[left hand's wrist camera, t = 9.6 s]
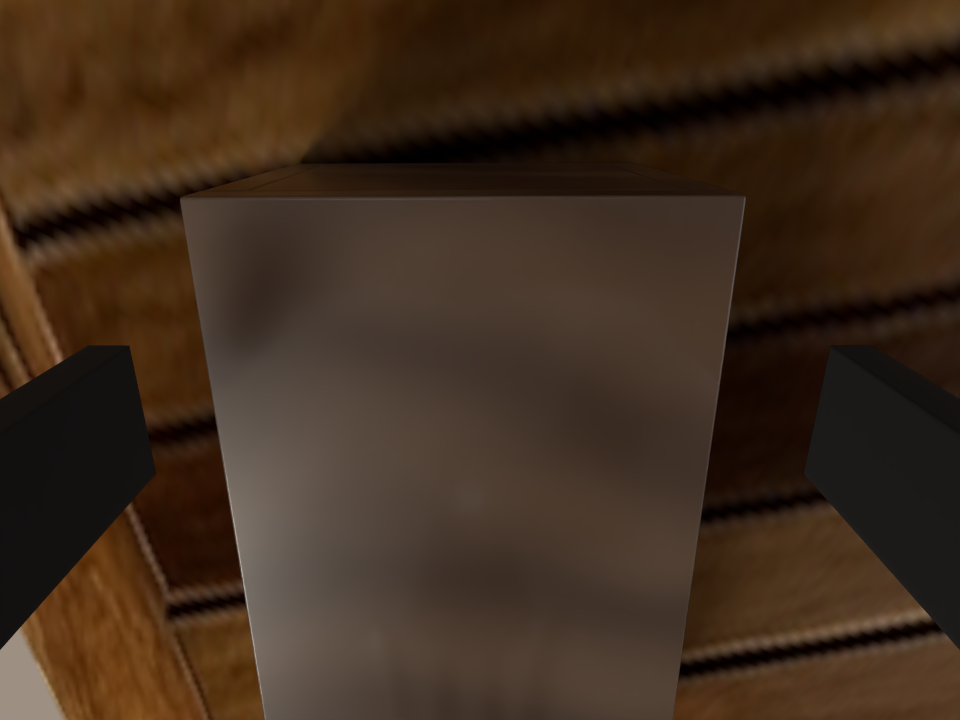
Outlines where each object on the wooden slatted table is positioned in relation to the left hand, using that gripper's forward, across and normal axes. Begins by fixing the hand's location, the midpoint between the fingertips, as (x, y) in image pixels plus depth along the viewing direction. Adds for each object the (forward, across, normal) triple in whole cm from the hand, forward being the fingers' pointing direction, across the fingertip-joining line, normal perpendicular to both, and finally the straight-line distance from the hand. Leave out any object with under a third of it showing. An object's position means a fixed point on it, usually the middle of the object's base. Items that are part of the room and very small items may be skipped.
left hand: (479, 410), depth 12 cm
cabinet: (+12, 0, -6) cm, 13 cm away
